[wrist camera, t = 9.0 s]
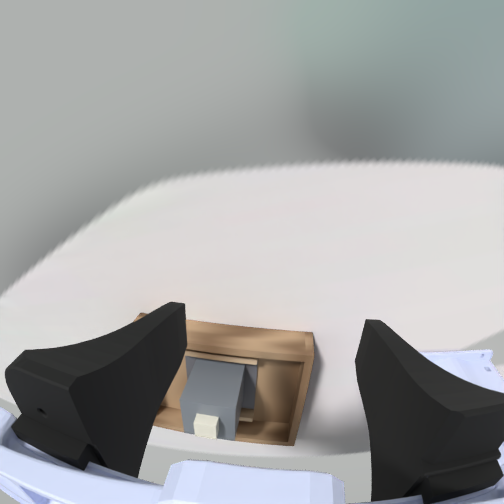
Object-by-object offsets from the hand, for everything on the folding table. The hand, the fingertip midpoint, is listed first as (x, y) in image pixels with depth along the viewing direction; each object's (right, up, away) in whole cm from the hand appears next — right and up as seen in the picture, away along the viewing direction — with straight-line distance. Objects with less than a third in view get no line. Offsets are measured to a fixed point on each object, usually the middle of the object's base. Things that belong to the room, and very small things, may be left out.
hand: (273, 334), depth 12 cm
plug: (-3, -8, +13) cm, 16 cm away
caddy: (-3, -8, +14) cm, 16 cm away
